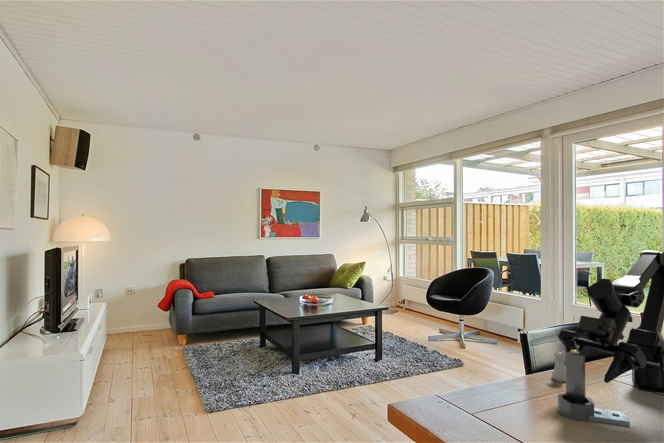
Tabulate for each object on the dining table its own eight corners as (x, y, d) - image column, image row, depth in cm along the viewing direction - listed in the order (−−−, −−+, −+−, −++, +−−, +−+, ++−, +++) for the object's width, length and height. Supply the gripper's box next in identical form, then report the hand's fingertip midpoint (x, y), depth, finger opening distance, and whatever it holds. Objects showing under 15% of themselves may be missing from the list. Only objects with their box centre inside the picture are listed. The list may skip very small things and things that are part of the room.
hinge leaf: (622, 414, 99) (621, 399, 99) (630, 427, 92) (630, 411, 92) (557, 405, 104) (556, 391, 104) (560, 417, 97) (560, 402, 97)
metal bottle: (582, 406, 101) (581, 348, 101) (588, 413, 97) (587, 353, 97) (563, 405, 102) (563, 347, 102) (569, 412, 98) (568, 352, 98)
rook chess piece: (571, 382, 120) (570, 354, 120) (554, 381, 121) (553, 353, 121) (565, 377, 124) (565, 349, 124) (549, 376, 125) (549, 349, 125)
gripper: (561, 298, 112) (534, 345, 107) (639, 310, 96) (612, 366, 91) (579, 324, 116) (555, 372, 111) (657, 340, 99) (633, 396, 94)
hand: (585, 375), depth 101 cm, fingers open, 9 cm apart
